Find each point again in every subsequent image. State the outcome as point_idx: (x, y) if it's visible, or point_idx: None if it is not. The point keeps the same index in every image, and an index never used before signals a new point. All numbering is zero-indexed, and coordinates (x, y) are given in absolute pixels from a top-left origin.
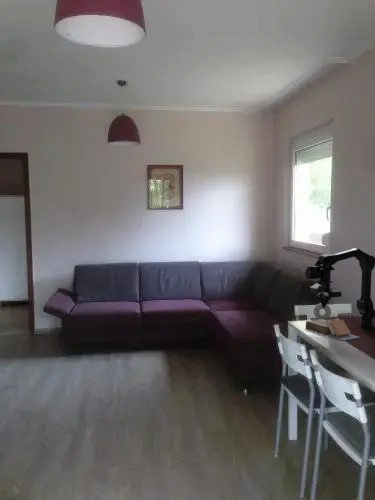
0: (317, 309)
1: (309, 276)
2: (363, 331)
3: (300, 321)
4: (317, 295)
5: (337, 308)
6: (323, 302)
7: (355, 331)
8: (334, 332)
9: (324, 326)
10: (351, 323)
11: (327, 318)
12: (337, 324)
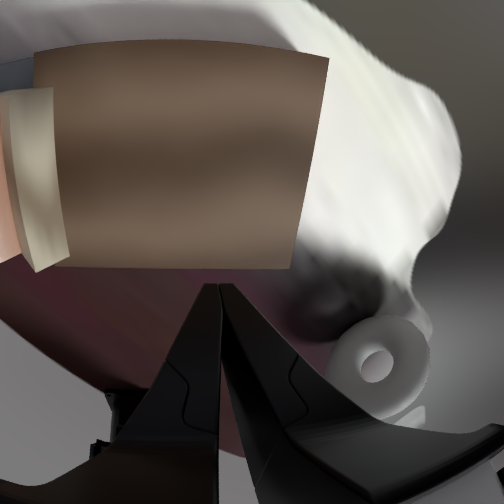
0: (405, 354)
1: None
2: (67, 346)
3: (432, 201)
4: (446, 441)
5: None
6: (193, 350)
7: (74, 317)
8: None
9: (59, 63)
10: None
11: (331, 351)
12: None
